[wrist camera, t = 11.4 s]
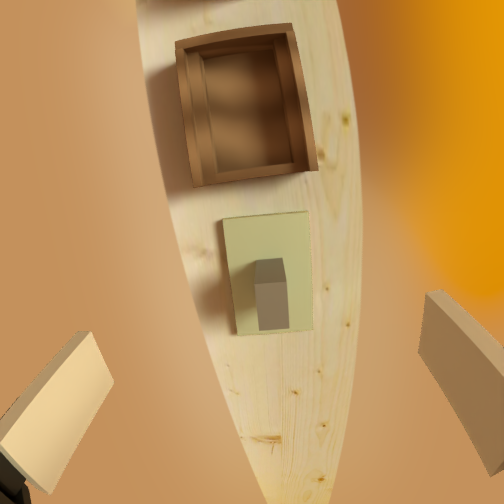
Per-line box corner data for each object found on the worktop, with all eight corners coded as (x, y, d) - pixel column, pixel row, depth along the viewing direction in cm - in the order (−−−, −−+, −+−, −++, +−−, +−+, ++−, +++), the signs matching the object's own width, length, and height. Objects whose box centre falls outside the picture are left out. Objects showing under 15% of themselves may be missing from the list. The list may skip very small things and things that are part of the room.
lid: (224, 217, 35) (210, 234, 27) (306, 210, 35) (320, 224, 26) (238, 330, 39) (232, 371, 31) (311, 324, 39) (322, 364, 30)
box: (187, 57, 30) (173, 40, 24) (288, 42, 29) (291, 21, 23) (205, 184, 34) (193, 187, 28) (309, 169, 33) (318, 170, 27)
